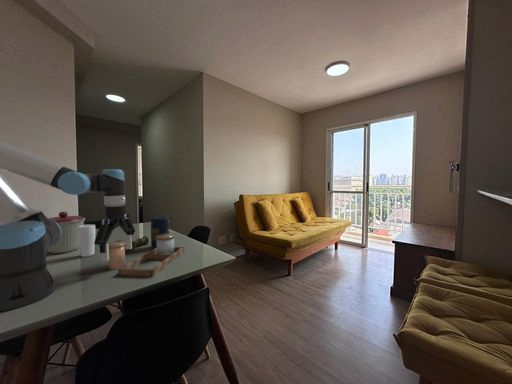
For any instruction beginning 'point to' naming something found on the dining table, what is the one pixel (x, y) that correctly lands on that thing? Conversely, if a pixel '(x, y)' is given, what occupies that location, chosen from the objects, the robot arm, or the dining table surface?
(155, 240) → the canister
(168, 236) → the white lidded jar
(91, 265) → the dining table surface
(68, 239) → the canister
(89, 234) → the white tall cup
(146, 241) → the kendama
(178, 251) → the caddy
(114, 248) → the tan domed cylinder
